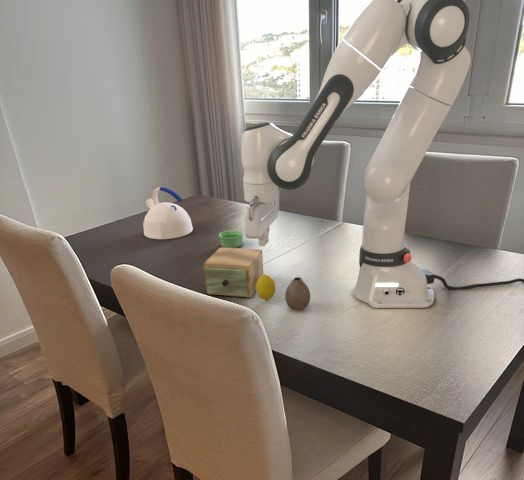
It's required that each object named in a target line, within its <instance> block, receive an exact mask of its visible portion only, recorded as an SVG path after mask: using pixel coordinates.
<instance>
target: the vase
mask: <svg viewBox="0 0 524 480" xmlns="http://www.w3.org/2000/svg"><path fill="white" fill-rule="evenodd" d="M284 299H285V303H286V305H287V307H288V308H289V309H291V310H292V311H296V312H302V311H303V310H305V309H306V308H308V306H309V304H310V301H311V291H310V288H309V286H308V285H307V284H306V282H305V281H304V279H303V278H302V277H299V276H296V277H293V278H292V280H291V282H290V283H289V285H288V286H287V287H286V289H285V294H284Z"/></svg>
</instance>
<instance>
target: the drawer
mask: <svg viewBox="0 0 524 480" xmlns="http://www.w3.org/2000/svg"><path fill="white" fill-rule="evenodd" d="M204 277H206V278H205V285H207V287H206V293H214V294H227V295H239V296H248V295H249V293H248V279H247V269H239V268H223V267H205V270H204ZM214 294H213V295H214ZM239 296H238V297H239Z"/></svg>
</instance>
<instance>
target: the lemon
mask: <svg viewBox="0 0 524 480" xmlns="http://www.w3.org/2000/svg"><path fill="white" fill-rule="evenodd" d="M255 292H256V294H257V296H258V297H259V298H260V299H262V300H264V301H266V302H267V301H269V300H270V299H272V298H273V297H274V296H275V293H276V283H275V280H274V279H273V277H271V276H270V275H268V274H263V276H261V277H260V278H259V279H258V281H257V284H256V291H255Z"/></svg>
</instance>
